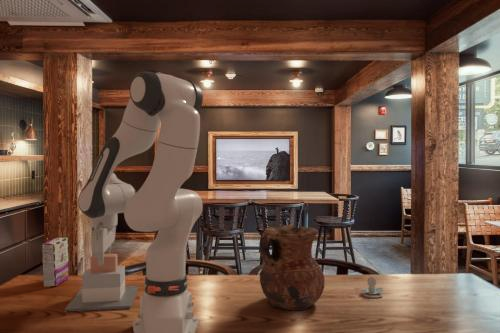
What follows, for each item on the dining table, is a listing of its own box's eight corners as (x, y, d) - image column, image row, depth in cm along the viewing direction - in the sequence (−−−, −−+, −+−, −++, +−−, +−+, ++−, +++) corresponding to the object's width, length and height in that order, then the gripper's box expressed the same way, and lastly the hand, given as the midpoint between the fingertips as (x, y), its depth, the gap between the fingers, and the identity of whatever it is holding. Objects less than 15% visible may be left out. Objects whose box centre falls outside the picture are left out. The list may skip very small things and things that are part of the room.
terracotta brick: (115, 271, 137) (115, 256, 137) (90, 272, 136) (90, 257, 135) (117, 268, 141) (117, 253, 140) (93, 268, 139) (93, 254, 139)
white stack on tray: (130, 308, 130) (130, 277, 130) (64, 312, 127) (64, 280, 127) (138, 288, 150) (138, 261, 149) (81, 290, 147) (81, 263, 147)
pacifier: (385, 299, 139) (380, 292, 145) (385, 281, 139) (380, 275, 145) (363, 299, 139) (359, 292, 145) (363, 281, 139) (360, 275, 145)
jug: (278, 288, 149) (278, 220, 149) (333, 299, 139) (334, 225, 138) (247, 308, 130) (247, 230, 130) (308, 322, 120) (308, 237, 119)
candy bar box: (57, 278, 162) (56, 237, 161) (69, 278, 162) (68, 237, 161) (42, 287, 150) (41, 243, 150) (55, 287, 150) (54, 243, 150)
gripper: (107, 225, 128) (107, 269, 128) (118, 215, 148) (119, 253, 148) (86, 226, 127) (86, 270, 127) (100, 216, 147) (101, 254, 147)
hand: (104, 261), depth 138 cm, fingers open, 8 cm apart
